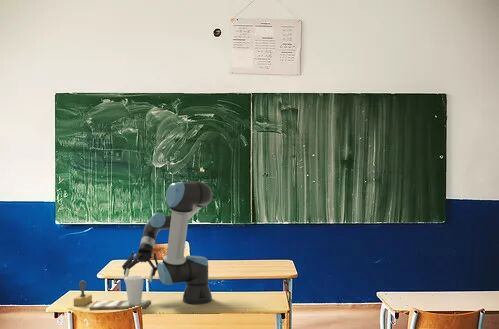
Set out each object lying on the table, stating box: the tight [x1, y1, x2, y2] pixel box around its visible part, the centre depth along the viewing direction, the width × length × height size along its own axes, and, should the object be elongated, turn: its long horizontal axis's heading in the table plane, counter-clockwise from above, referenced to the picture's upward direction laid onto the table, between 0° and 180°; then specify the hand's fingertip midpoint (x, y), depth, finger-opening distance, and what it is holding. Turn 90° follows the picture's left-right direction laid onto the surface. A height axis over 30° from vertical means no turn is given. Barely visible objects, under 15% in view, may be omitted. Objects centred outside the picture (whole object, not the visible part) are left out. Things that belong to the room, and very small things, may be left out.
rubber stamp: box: [73, 280, 93, 307], centre depth 287 cm, size 10×6×12 cm, turn 173°
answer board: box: [89, 299, 152, 311], centre depth 281 cm, size 28×13×1 cm, turn 91°
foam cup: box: [124, 275, 145, 305], centre depth 281 cm, size 10×9×13 cm
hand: (137, 280), depth 286 cm, fingers open, 13 cm apart
